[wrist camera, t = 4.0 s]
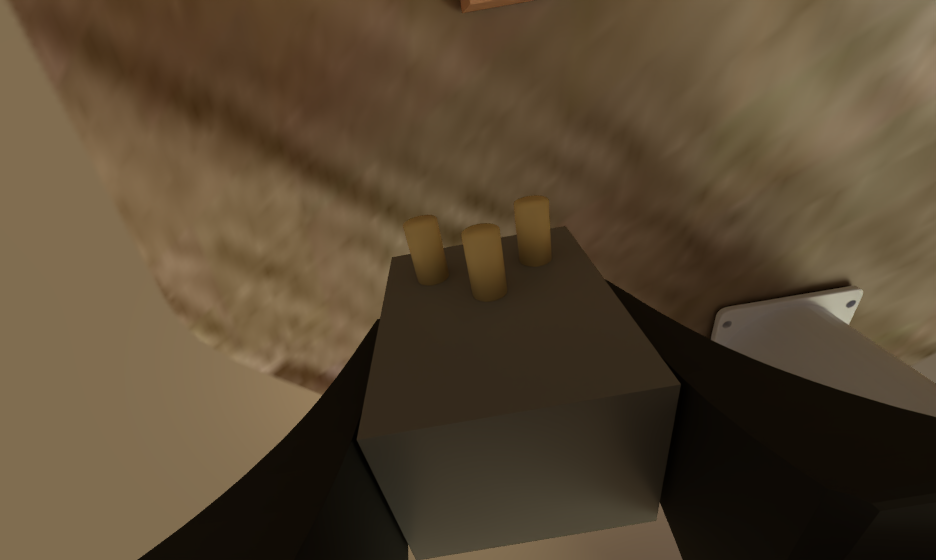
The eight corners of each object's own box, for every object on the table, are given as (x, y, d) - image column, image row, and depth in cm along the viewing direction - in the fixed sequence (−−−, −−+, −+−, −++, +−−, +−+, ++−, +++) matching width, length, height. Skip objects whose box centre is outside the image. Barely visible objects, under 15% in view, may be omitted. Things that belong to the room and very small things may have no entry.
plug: (568, 334, 13) (656, 520, 8) (422, 360, 13) (416, 560, 8) (564, 174, 10) (694, 303, 5) (377, 207, 10) (322, 369, 5)
